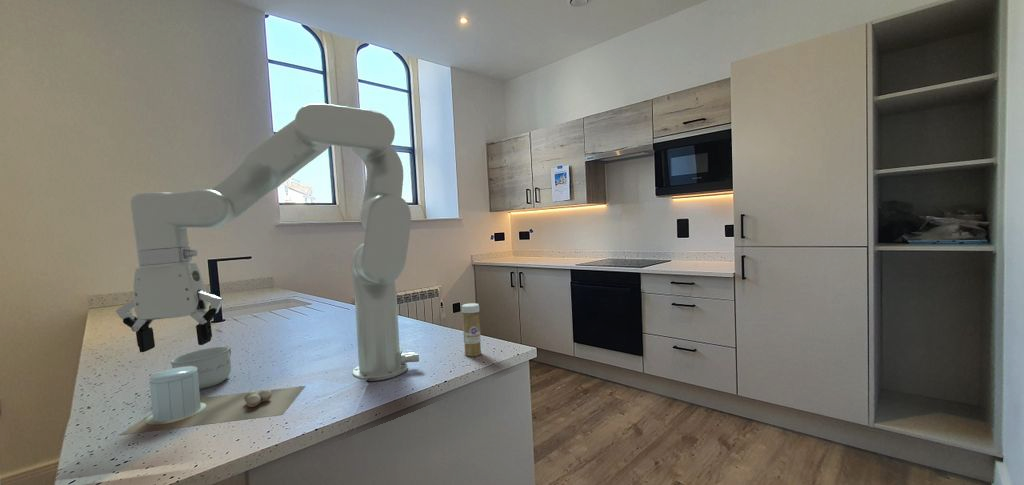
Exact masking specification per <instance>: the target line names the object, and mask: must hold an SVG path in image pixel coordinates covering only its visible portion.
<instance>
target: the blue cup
mask: <svg viewBox="0 0 1024 485" xmlns="http://www.w3.org/2000/svg"><path fill="white" fill-rule="evenodd" d="M149 388H150V399H151V410H152V411H151V412H152V413H153V421H159V422H161V421H170V420H174V419H178V418H182V417H185V416H188V415H190V414H192V413H195V412H196V411H197V410H199V409H200V408H201V405H200V398H201V396H200V389H199V380H198V371H197V367H195V366H186V367H178V368H169V369H166V370H162V371H159V372H156V373H154V374H152V375H150V377H149ZM152 413H151V414H152Z"/></svg>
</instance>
